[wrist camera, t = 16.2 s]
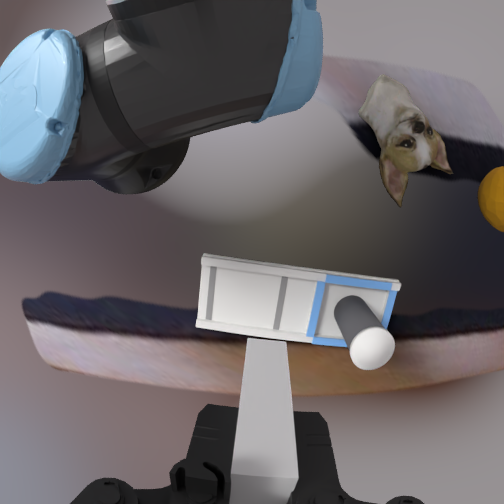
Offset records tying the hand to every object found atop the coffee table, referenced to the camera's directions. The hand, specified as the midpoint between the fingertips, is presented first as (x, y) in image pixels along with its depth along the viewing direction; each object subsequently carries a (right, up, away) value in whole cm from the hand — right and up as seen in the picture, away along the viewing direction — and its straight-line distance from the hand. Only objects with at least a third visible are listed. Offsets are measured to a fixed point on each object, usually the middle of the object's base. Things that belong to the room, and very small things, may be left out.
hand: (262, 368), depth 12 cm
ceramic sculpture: (+18, +19, +24) cm, 35 cm away
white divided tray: (+6, -2, +28) cm, 29 cm away
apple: (+34, +13, +24) cm, 44 cm away
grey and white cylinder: (+13, -3, +28) cm, 31 cm away
